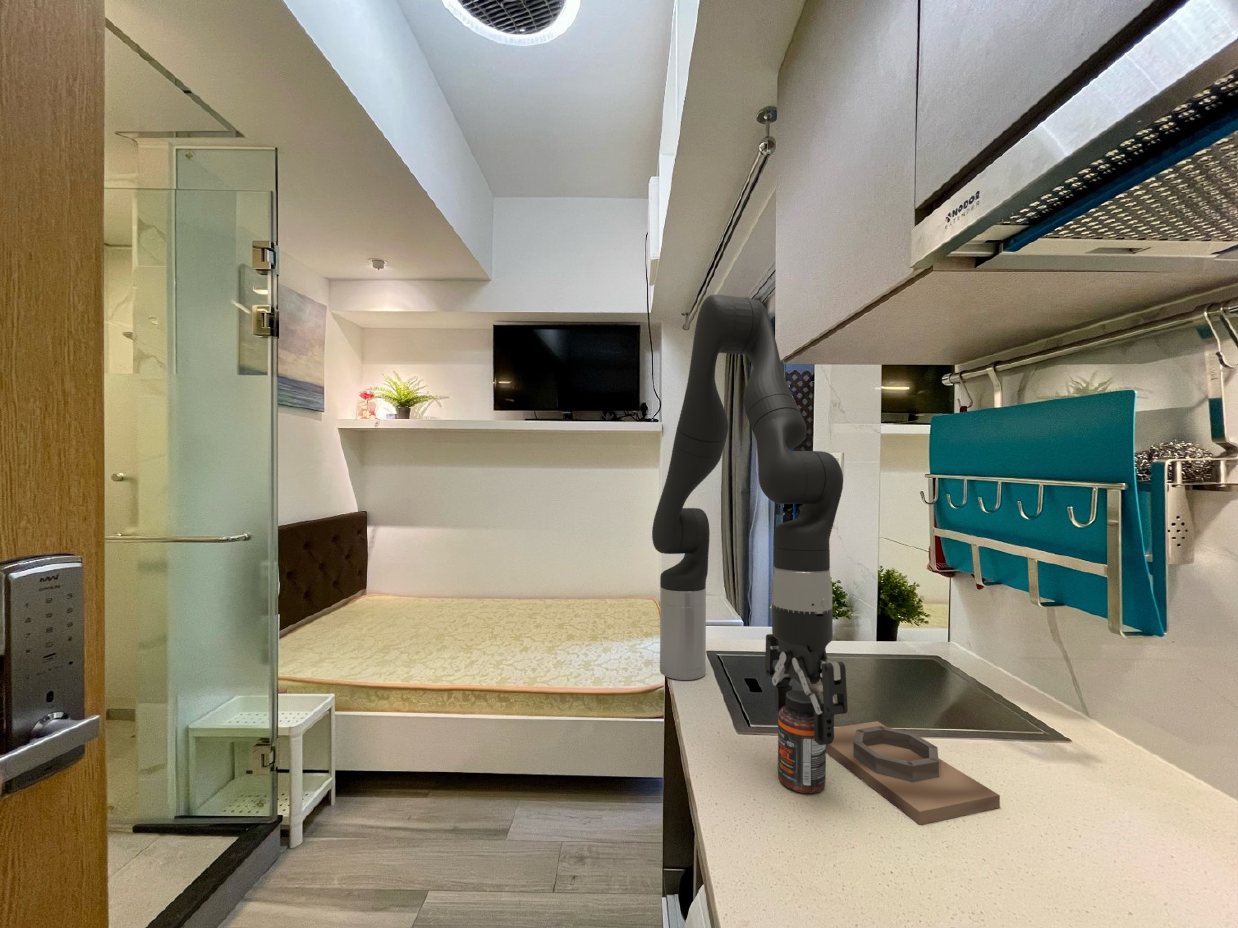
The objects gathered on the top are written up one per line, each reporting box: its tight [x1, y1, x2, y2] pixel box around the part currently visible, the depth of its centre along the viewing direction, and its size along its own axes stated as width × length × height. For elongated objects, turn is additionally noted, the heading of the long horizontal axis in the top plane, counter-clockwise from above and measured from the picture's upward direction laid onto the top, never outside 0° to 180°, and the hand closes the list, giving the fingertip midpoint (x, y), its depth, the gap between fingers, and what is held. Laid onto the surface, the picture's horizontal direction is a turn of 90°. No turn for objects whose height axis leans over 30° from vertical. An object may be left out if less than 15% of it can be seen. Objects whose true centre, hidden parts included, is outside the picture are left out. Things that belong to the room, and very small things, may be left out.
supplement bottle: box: [777, 689, 827, 794], centre depth 70 cm, size 6×6×11 cm
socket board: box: [826, 720, 1001, 826], centre depth 72 cm, size 20×12×4 cm, turn 16°
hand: (802, 727), depth 69 cm, fingers open, 8 cm apart
